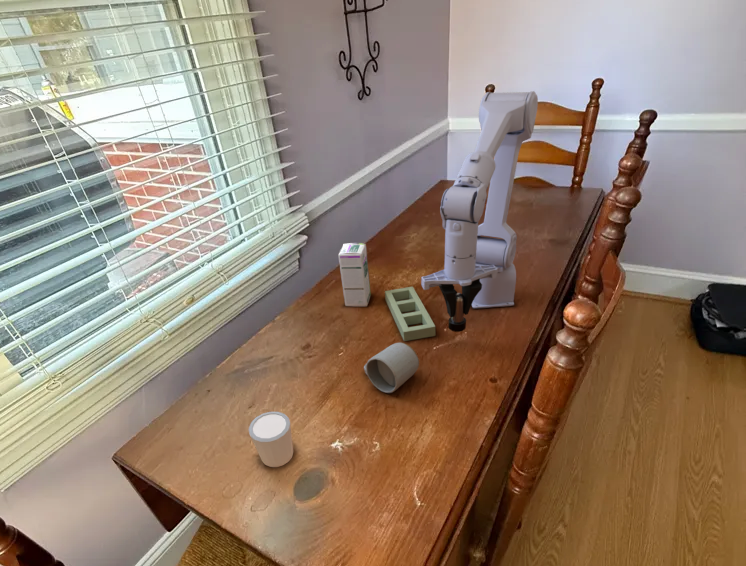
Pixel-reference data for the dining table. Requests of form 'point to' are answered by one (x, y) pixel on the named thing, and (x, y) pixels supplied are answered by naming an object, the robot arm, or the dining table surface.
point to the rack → (409, 314)
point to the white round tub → (272, 438)
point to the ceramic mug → (392, 367)
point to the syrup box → (355, 274)
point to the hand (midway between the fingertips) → (457, 313)
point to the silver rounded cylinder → (458, 315)
